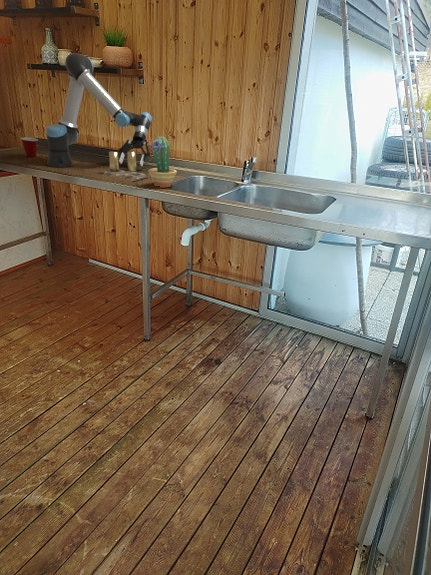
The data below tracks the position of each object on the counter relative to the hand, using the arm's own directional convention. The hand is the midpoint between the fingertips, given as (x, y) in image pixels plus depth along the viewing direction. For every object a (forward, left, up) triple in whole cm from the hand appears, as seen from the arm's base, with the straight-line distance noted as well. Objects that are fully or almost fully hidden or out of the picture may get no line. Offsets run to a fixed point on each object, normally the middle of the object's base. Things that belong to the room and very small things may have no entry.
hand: (130, 163), depth 241 cm
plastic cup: (-82, +1, -5) cm, 83 cm away
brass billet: (0, +2, -5) cm, 6 cm away
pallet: (+6, -14, -5) cm, 16 cm away
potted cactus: (+34, -18, -5) cm, 38 cm away
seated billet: (-1, -14, -4) cm, 15 cm away
